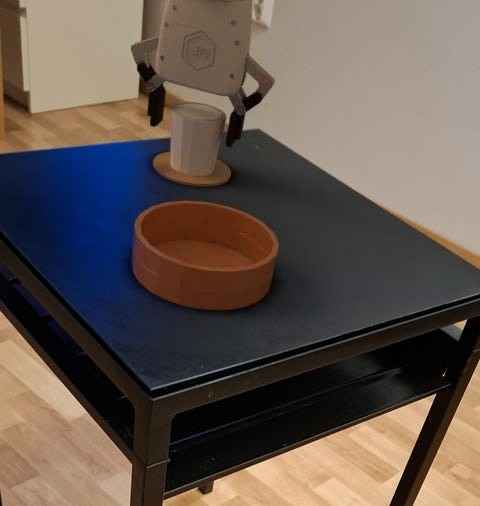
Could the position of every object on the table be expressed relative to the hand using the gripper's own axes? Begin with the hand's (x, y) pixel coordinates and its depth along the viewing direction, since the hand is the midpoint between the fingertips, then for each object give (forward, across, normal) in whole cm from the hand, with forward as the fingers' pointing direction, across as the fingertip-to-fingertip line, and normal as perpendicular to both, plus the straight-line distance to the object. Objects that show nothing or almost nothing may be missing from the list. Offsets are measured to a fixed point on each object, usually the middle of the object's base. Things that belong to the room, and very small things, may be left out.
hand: (193, 133), depth 91 cm
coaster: (+5, 0, 0) cm, 5 cm away
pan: (+5, +8, -24) cm, 26 cm away
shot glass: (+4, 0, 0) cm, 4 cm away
